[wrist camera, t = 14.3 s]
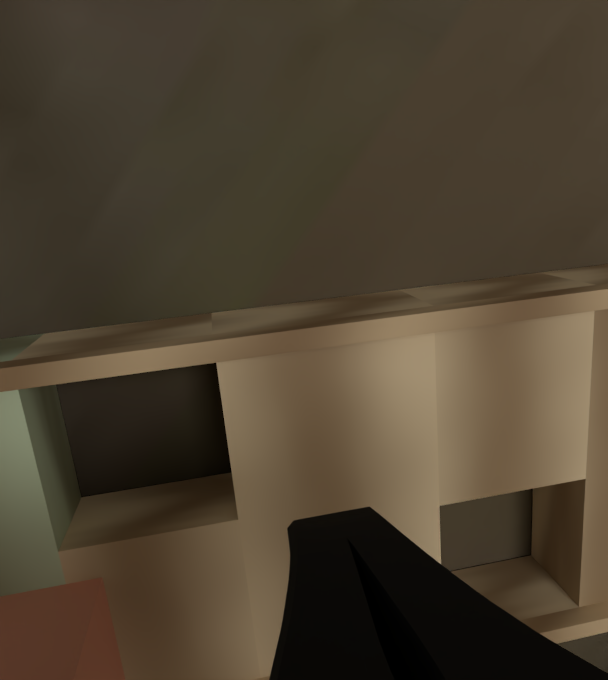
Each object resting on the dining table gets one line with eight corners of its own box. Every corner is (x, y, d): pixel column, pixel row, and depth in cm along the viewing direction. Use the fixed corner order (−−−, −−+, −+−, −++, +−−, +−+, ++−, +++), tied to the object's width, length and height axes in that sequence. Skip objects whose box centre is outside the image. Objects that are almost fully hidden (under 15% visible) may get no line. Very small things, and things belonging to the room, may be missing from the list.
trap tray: (613, 263, 20) (743, 282, 15) (595, 553, 23) (698, 646, 18) (-120, 353, 16) (-258, 417, 11) (-18, 681, 19) (-91, 837, 15)
